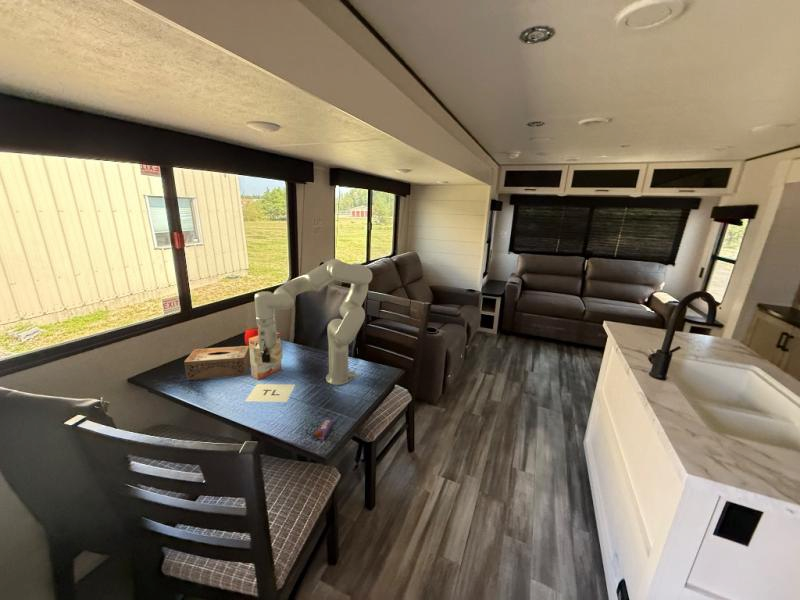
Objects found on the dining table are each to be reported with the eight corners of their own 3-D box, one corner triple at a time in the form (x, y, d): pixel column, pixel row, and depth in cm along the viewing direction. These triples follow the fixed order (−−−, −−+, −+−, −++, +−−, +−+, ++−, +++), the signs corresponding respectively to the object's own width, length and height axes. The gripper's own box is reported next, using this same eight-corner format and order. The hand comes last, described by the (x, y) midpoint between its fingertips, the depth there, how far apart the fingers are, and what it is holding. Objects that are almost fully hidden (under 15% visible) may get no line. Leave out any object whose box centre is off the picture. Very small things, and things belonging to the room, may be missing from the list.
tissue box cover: (186, 380, 147) (183, 362, 144) (197, 366, 160) (194, 349, 157) (245, 375, 154) (243, 357, 151) (250, 362, 167) (249, 345, 164)
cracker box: (258, 380, 149) (255, 341, 144) (251, 376, 152) (247, 338, 147) (282, 369, 161) (280, 332, 155) (275, 366, 164) (273, 329, 158)
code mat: (295, 384, 147) (295, 384, 147) (286, 401, 134) (286, 401, 134) (257, 384, 146) (257, 384, 146) (244, 401, 133) (244, 401, 132)
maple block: (282, 357, 139) (281, 343, 137) (278, 363, 133) (277, 348, 131) (260, 356, 138) (258, 342, 136) (254, 363, 132) (253, 348, 130)
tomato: (258, 353, 177) (256, 332, 174) (240, 350, 180) (238, 329, 177) (271, 345, 188) (269, 325, 185) (253, 342, 191) (252, 323, 187)
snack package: (324, 416, 124) (336, 418, 123) (324, 420, 124) (336, 422, 123) (310, 435, 113) (323, 437, 112) (311, 439, 113) (323, 442, 112)
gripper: (268, 327, 123) (271, 368, 127) (281, 314, 139) (283, 350, 144) (248, 327, 122) (252, 367, 127) (264, 313, 139) (267, 350, 143)
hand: (269, 358), depth 135 cm, fingers closed on maple block, 6 cm apart
